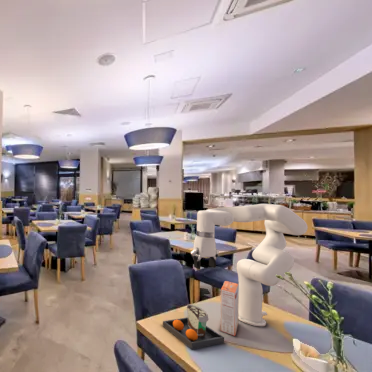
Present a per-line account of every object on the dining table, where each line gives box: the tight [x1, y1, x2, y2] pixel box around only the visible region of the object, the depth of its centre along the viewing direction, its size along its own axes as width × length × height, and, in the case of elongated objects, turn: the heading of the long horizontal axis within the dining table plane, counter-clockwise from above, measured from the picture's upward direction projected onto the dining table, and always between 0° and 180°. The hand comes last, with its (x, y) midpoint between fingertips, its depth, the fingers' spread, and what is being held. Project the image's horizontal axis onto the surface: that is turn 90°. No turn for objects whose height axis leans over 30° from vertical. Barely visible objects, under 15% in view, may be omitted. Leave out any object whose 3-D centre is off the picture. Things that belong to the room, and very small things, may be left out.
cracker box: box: [220, 280, 239, 337], centre depth 115 cm, size 14×6×21 cm, turn 134°
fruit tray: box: [162, 316, 225, 350], centre depth 109 cm, size 18×17×3 cm
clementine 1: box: [173, 319, 184, 331], centre depth 112 cm, size 5×5×5 cm
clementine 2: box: [186, 329, 198, 341], centre depth 104 cm, size 5×5×5 cm
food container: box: [186, 304, 209, 337], centre depth 110 cm, size 12×6×10 cm, turn 171°
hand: (204, 267), depth 120 cm, fingers open, 9 cm apart
